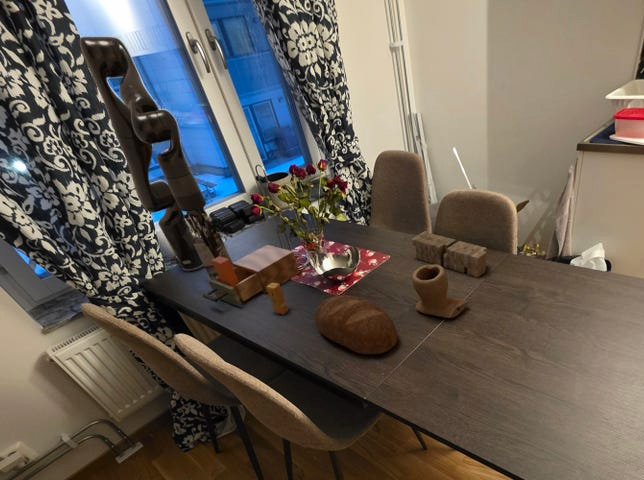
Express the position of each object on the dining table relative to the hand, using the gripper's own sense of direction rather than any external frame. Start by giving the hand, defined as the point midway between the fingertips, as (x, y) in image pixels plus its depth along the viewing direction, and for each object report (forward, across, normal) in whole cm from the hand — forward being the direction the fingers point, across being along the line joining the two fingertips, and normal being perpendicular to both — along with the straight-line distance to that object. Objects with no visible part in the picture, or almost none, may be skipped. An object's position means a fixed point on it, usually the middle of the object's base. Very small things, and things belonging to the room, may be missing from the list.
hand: (212, 246), depth 125 cm
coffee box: (+20, +19, -8) cm, 29 cm away
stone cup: (+20, -69, -25) cm, 76 cm away
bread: (+20, -53, -4) cm, 57 cm away
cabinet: (+20, 0, -16) cm, 26 cm away
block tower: (+20, -56, -54) cm, 81 cm away
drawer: (+19, 0, -1) cm, 19 cm away
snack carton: (+18, 0, 0) cm, 18 cm away
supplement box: (+20, -22, -2) cm, 30 cm away
